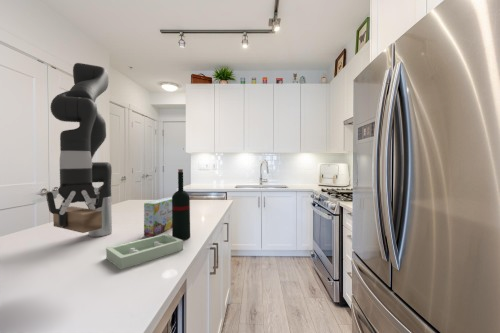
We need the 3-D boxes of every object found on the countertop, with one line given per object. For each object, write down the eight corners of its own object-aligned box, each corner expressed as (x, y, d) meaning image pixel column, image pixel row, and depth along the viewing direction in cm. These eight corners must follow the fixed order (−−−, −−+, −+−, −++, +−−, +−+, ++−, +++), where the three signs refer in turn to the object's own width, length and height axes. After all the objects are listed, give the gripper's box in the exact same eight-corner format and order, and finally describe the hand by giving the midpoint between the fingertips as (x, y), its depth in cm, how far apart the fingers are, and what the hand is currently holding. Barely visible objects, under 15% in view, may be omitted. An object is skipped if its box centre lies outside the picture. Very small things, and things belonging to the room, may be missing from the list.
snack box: (154, 237, 105) (154, 203, 105) (143, 236, 106) (142, 203, 106) (178, 224, 126) (178, 196, 126) (168, 224, 127) (168, 196, 127)
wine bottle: (185, 232, 112) (184, 168, 112) (193, 238, 104) (192, 169, 103) (168, 235, 108) (167, 169, 107) (174, 241, 99) (173, 169, 99)
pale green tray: (106, 258, 82) (106, 248, 82) (165, 242, 99) (165, 233, 99) (121, 269, 74) (120, 258, 74) (183, 249, 90) (183, 240, 90)
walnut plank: (83, 233, 64) (82, 214, 63) (53, 226, 70) (53, 209, 70) (101, 228, 68) (101, 210, 68) (72, 222, 75) (72, 206, 75)
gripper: (100, 166, 76) (101, 218, 77) (41, 167, 66) (42, 227, 66) (108, 166, 71) (109, 222, 72) (45, 167, 61) (47, 233, 61)
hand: (77, 224), depth 69 cm, fingers closed on walnut plank, 6 cm apart
